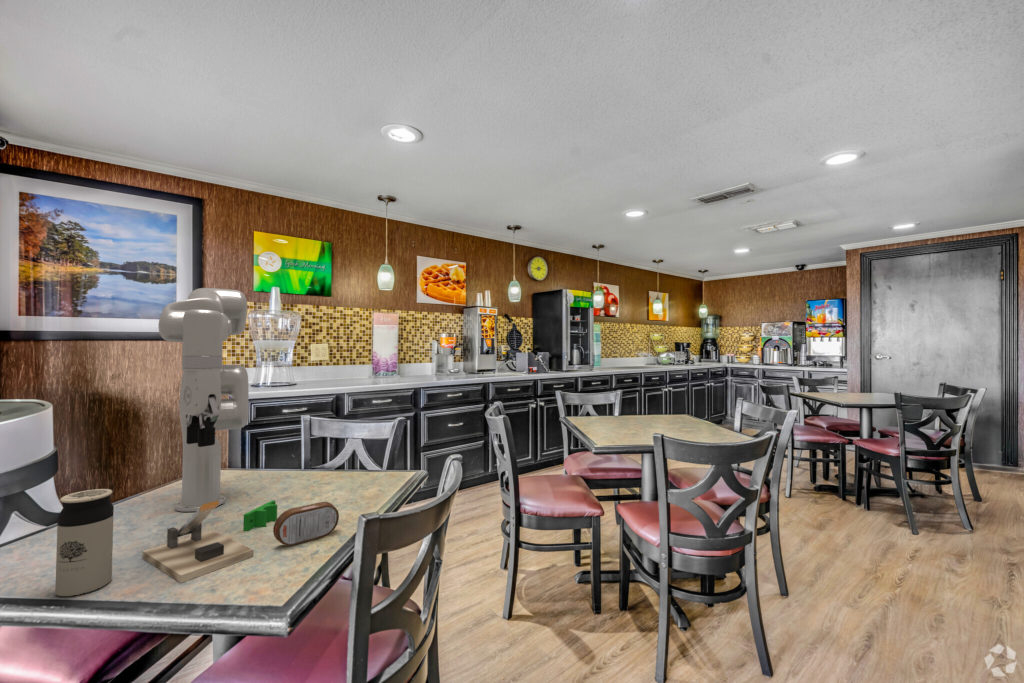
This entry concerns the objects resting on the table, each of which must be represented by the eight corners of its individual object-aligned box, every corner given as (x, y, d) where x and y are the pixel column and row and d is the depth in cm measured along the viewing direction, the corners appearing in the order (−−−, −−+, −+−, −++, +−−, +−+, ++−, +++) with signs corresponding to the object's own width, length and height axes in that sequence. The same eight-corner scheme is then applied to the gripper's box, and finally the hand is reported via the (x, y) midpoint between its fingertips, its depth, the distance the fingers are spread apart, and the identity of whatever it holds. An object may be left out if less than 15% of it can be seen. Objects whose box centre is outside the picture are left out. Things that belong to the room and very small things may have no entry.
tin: (335, 530, 116) (335, 497, 116) (340, 533, 114) (340, 500, 114) (272, 547, 105) (273, 511, 106) (276, 551, 103) (277, 515, 103)
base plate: (142, 557, 100) (142, 532, 100) (211, 536, 111) (212, 514, 112) (180, 583, 89) (181, 555, 89) (253, 556, 101) (253, 531, 101)
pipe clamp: (256, 533, 114) (256, 515, 114) (243, 532, 115) (243, 514, 115) (283, 516, 125) (284, 500, 125) (271, 516, 126) (271, 500, 126)
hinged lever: (176, 538, 103) (175, 532, 103) (191, 534, 105) (190, 528, 106) (204, 508, 96) (202, 502, 96) (219, 505, 98) (217, 499, 99)
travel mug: (84, 576, 91) (87, 487, 92) (122, 577, 91) (124, 488, 92) (42, 597, 83) (45, 500, 84) (83, 598, 83) (86, 501, 84)
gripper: (167, 363, 103) (165, 443, 102) (200, 365, 94) (198, 452, 93) (203, 363, 109) (202, 437, 109) (238, 364, 100) (236, 446, 99)
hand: (200, 443), depth 101 cm, fingers open, 4 cm apart
